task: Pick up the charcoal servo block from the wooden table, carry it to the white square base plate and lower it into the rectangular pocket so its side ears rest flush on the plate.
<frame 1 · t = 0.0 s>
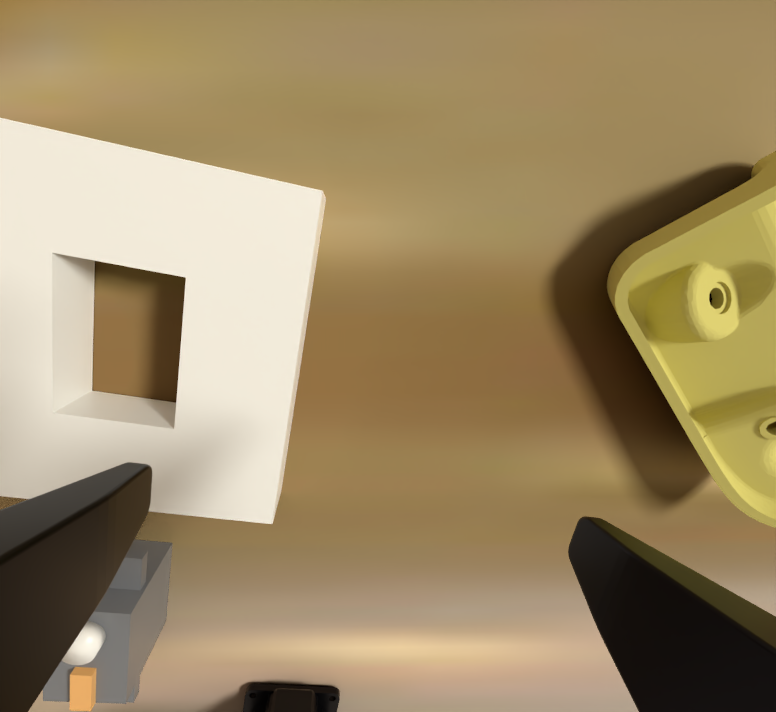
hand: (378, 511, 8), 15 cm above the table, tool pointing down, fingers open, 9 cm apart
white square base plate: (148, 333, 21), on the table
plastic component: (713, 347, 25), on the table
servo: (135, 579, 25), on the table
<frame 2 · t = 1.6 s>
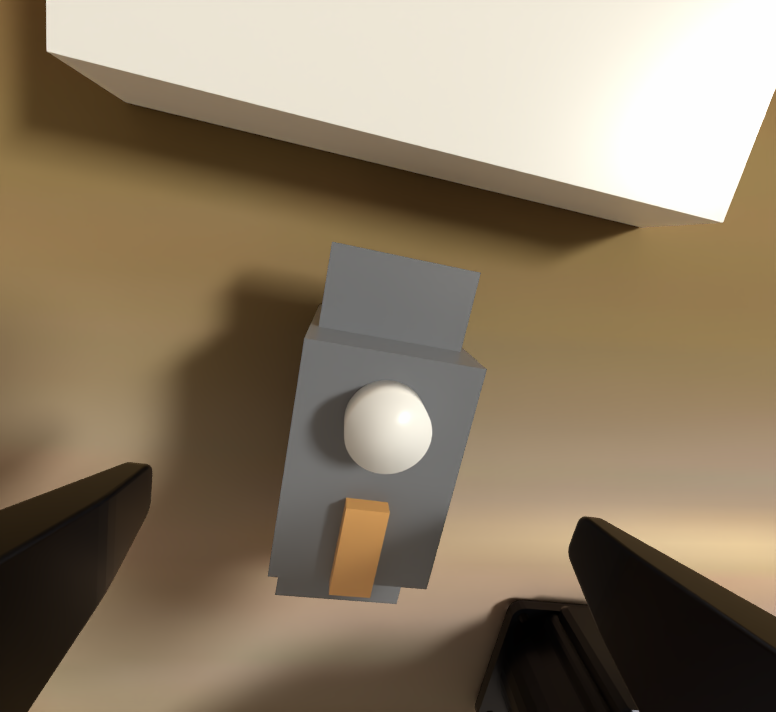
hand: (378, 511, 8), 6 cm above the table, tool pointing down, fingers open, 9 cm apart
servo: (363, 398, 14), on the table
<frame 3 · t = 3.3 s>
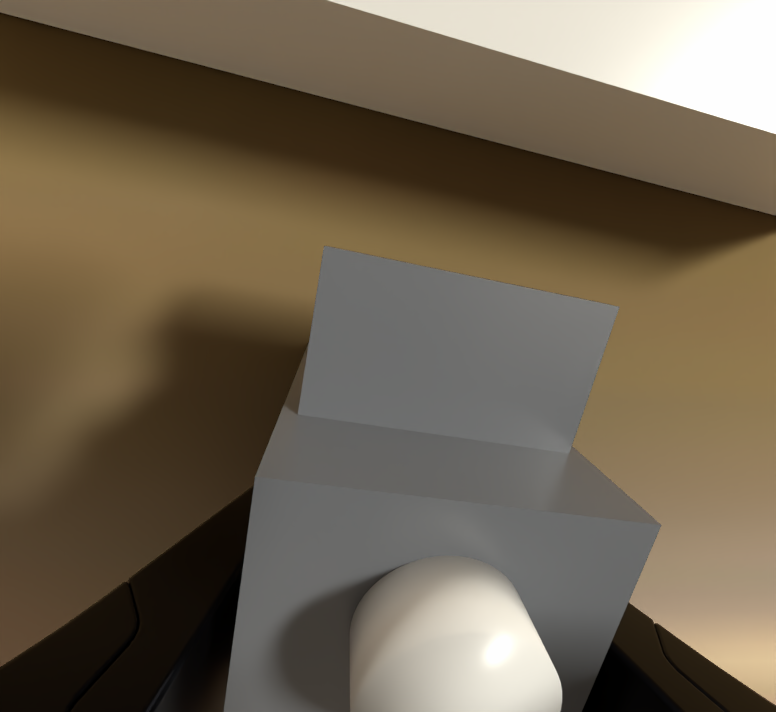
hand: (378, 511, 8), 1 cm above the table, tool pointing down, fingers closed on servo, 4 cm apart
servo: (375, 481, 9), on the table, touching gripper
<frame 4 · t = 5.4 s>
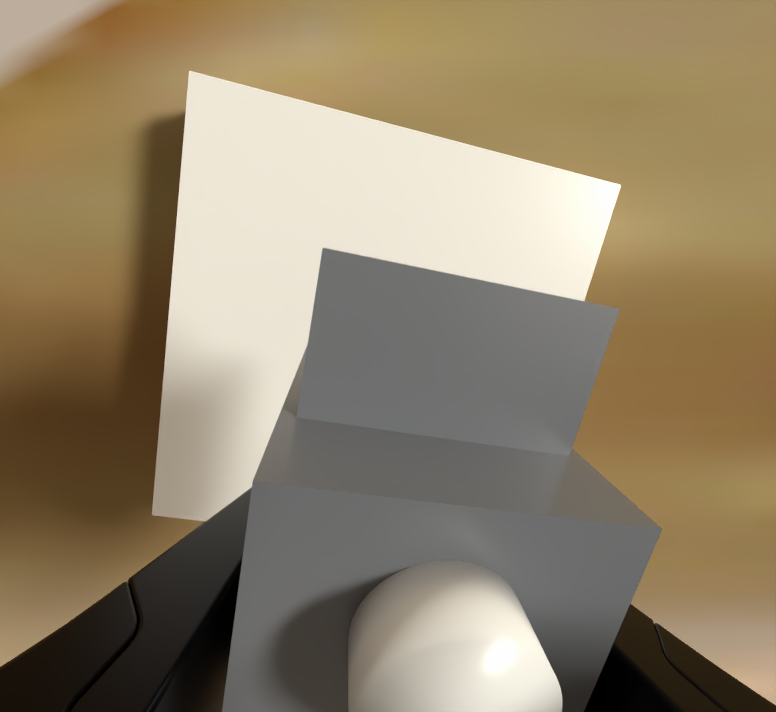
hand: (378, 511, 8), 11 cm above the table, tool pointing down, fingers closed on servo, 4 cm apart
white square base plate: (371, 342, 19), on the table
servo: (375, 483, 9), point 10 cm above the table, touching gripper
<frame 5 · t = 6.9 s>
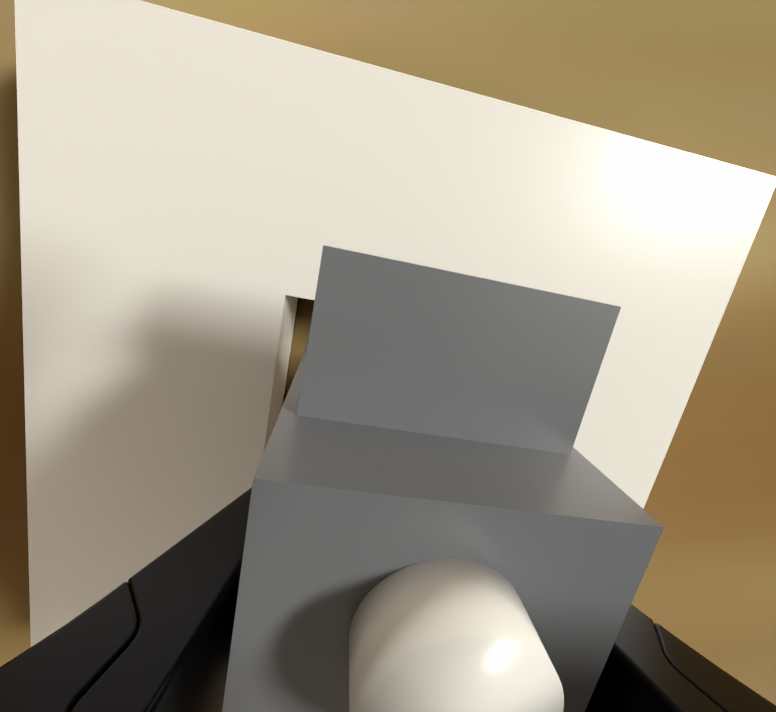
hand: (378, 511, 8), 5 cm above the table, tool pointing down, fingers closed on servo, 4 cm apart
white square base plate: (367, 411, 13), on the table
servo: (375, 482, 9), point 4 cm above the table, touching gripper
when the fingers open (3 cm above the table, at t = 8.0 s): servo drops 2 cm, resting on white square base plate.
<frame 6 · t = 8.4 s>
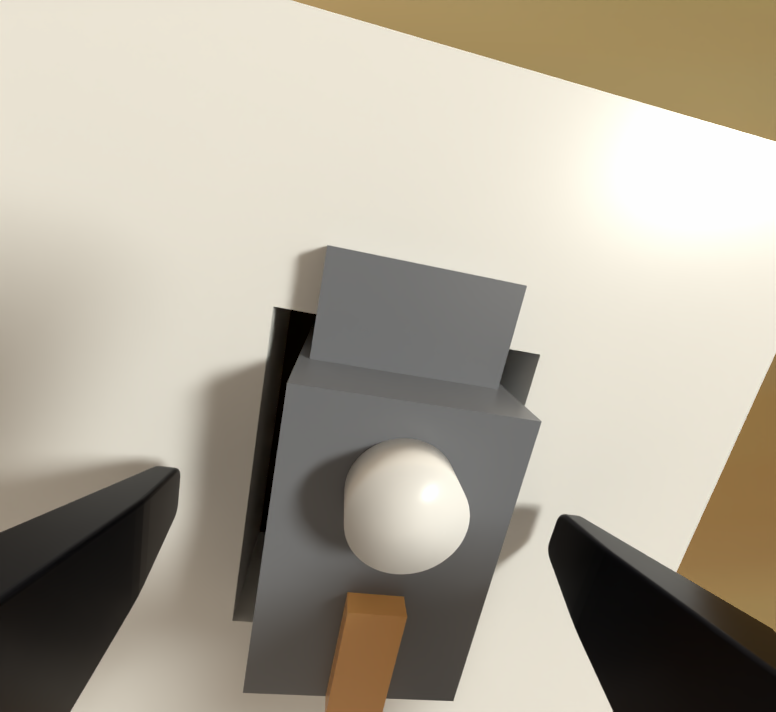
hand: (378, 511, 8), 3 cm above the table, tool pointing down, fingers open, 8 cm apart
white square base plate: (369, 433, 12), on the table
servo: (367, 433, 12), resting on white square base plate
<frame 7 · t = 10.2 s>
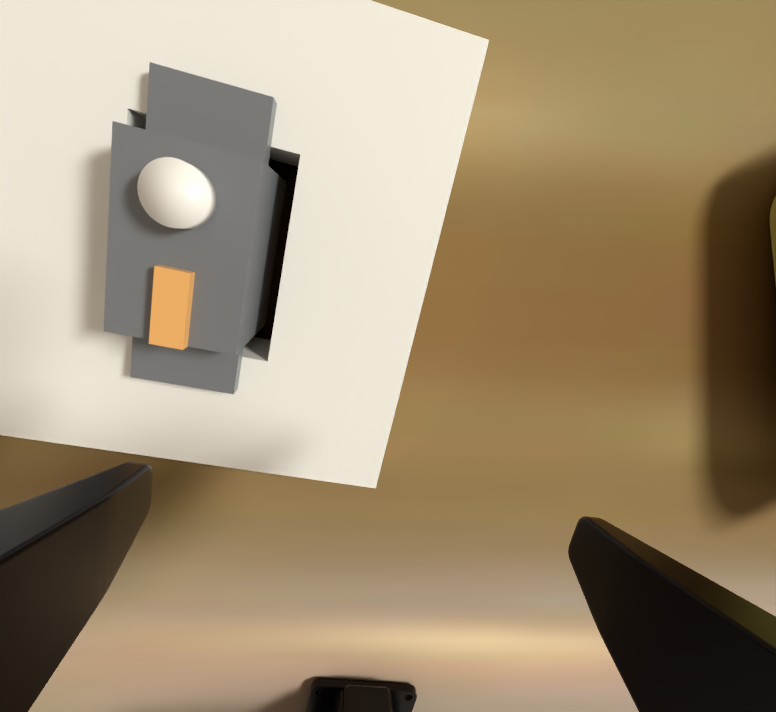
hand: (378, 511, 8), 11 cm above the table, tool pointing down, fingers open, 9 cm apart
white square base plate: (228, 245, 17), on the table
servo: (227, 245, 17), resting on white square base plate
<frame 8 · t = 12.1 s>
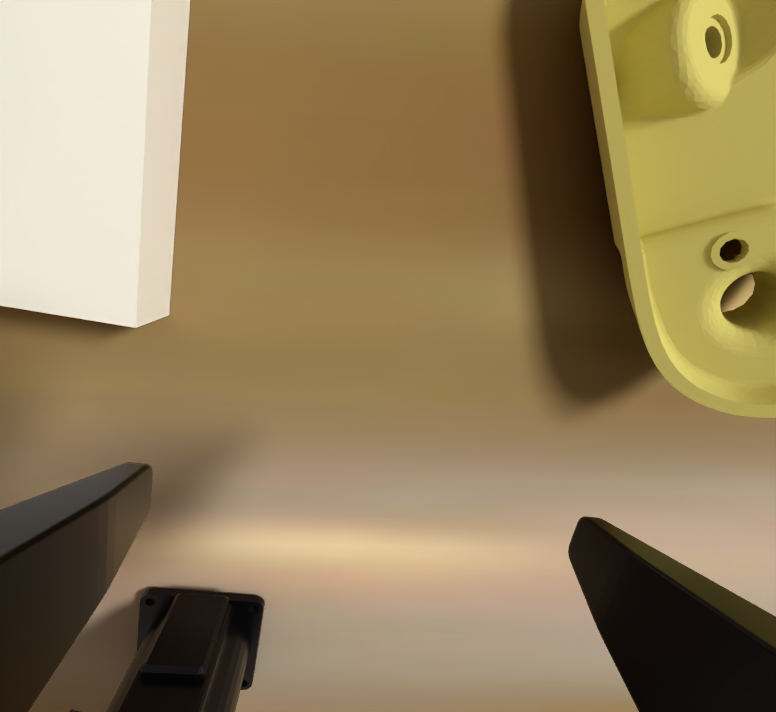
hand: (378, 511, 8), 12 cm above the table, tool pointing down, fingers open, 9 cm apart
plastic component: (680, 176, 19), on the table
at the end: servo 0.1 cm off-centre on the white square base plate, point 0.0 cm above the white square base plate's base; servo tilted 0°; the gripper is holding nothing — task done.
